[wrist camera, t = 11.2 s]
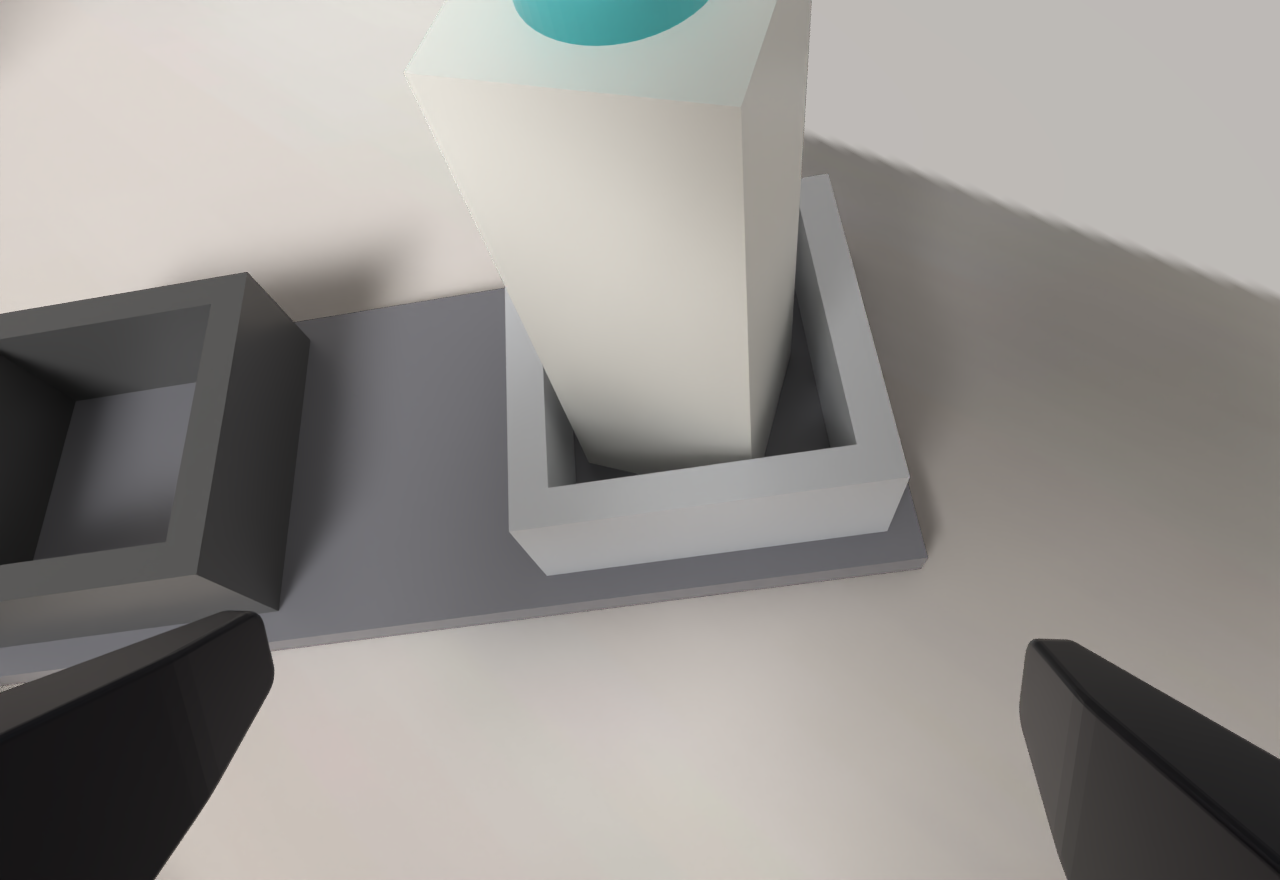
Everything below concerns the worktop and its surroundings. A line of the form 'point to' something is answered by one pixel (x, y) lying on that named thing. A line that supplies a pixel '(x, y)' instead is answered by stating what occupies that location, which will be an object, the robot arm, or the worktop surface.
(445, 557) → the grey long flat tray
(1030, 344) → the worktop surface
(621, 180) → the plug
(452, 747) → the worktop surface
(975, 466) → the worktop surface
